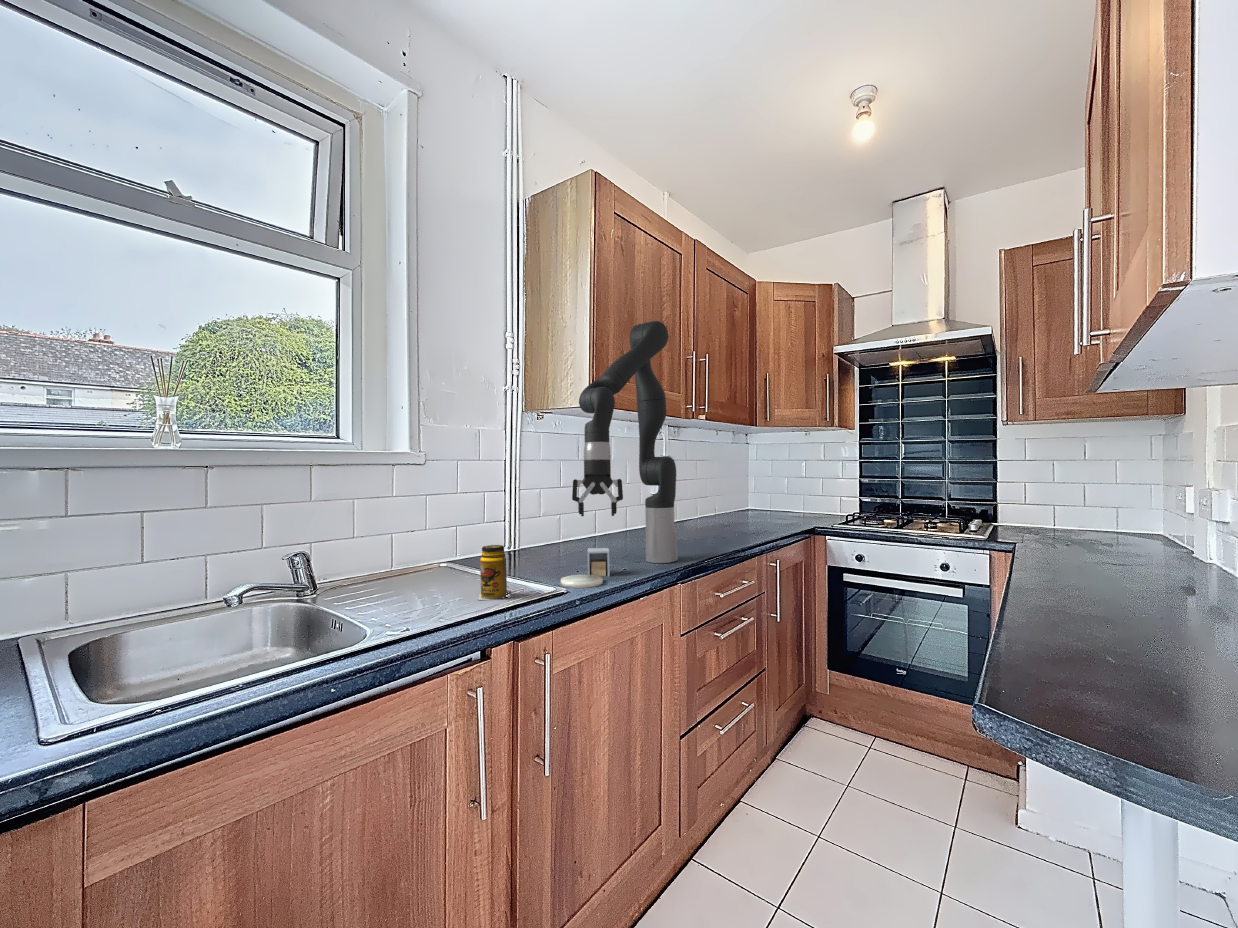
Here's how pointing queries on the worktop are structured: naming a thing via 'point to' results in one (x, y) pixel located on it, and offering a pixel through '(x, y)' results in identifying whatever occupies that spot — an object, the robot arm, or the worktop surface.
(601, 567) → the block
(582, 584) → the dish
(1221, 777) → the worktop surface
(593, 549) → the cover
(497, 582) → the condiment
